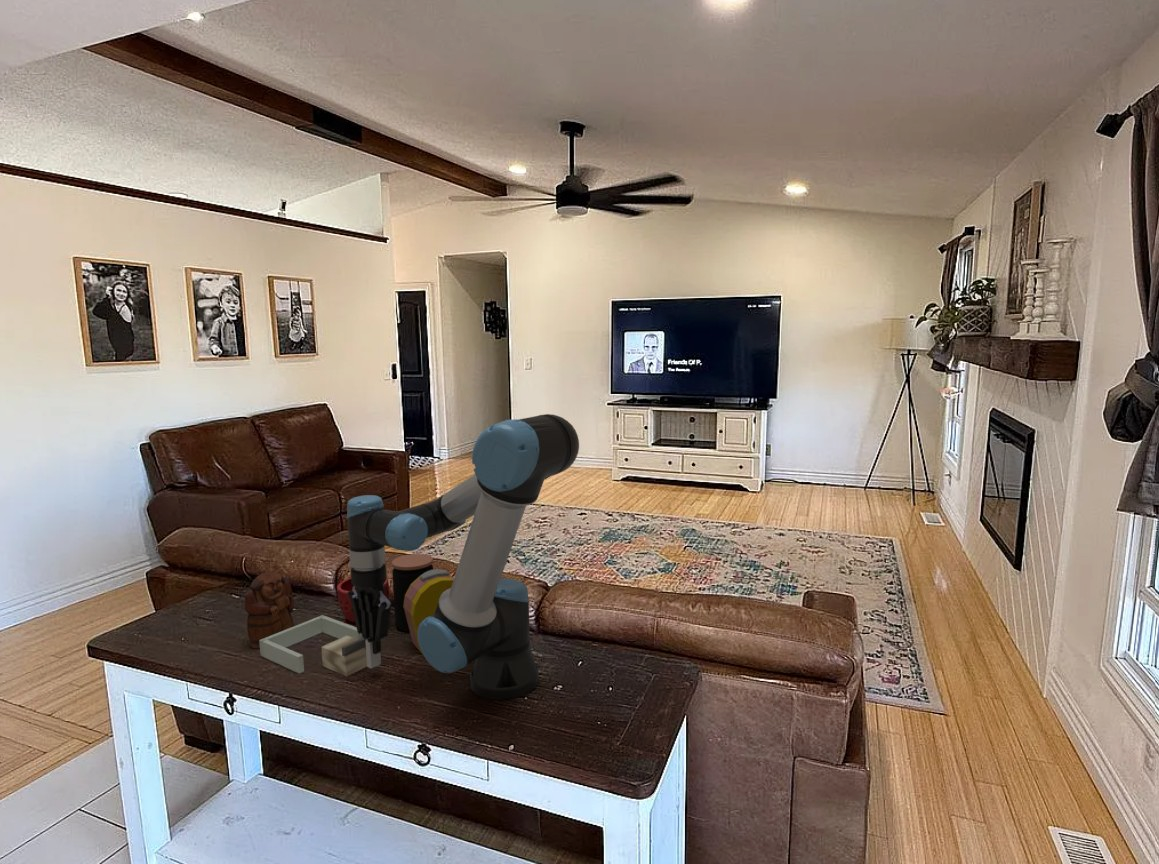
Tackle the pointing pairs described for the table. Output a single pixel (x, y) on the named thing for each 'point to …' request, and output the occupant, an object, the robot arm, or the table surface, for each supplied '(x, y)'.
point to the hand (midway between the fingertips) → (374, 665)
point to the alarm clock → (424, 598)
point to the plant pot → (346, 602)
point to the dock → (292, 660)
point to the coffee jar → (407, 581)
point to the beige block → (345, 655)
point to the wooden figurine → (268, 606)
